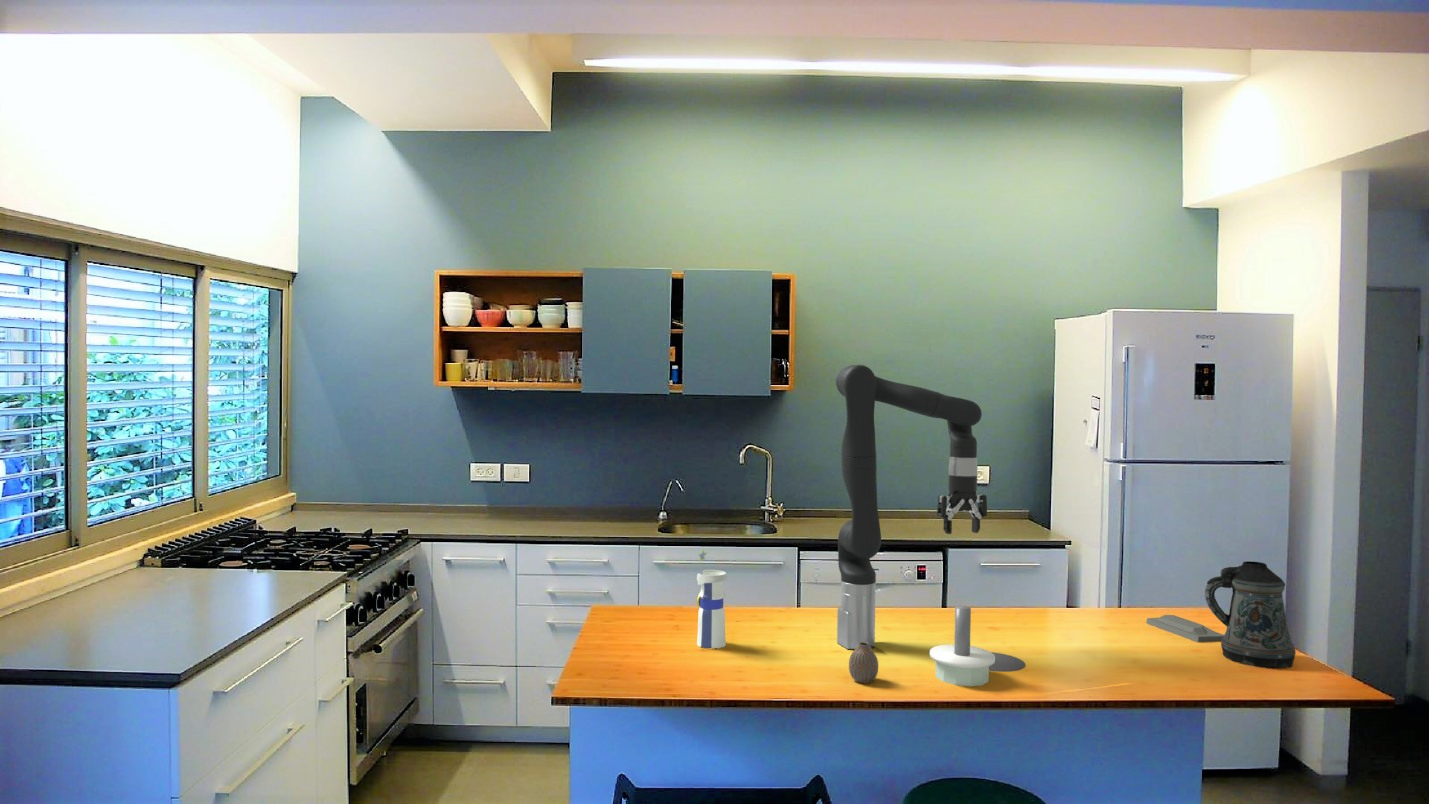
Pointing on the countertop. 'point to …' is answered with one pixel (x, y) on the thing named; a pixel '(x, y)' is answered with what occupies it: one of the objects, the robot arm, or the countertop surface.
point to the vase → (863, 664)
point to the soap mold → (1185, 628)
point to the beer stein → (1253, 616)
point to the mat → (1006, 663)
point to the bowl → (962, 675)
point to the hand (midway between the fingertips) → (961, 533)
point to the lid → (962, 646)
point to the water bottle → (711, 608)
